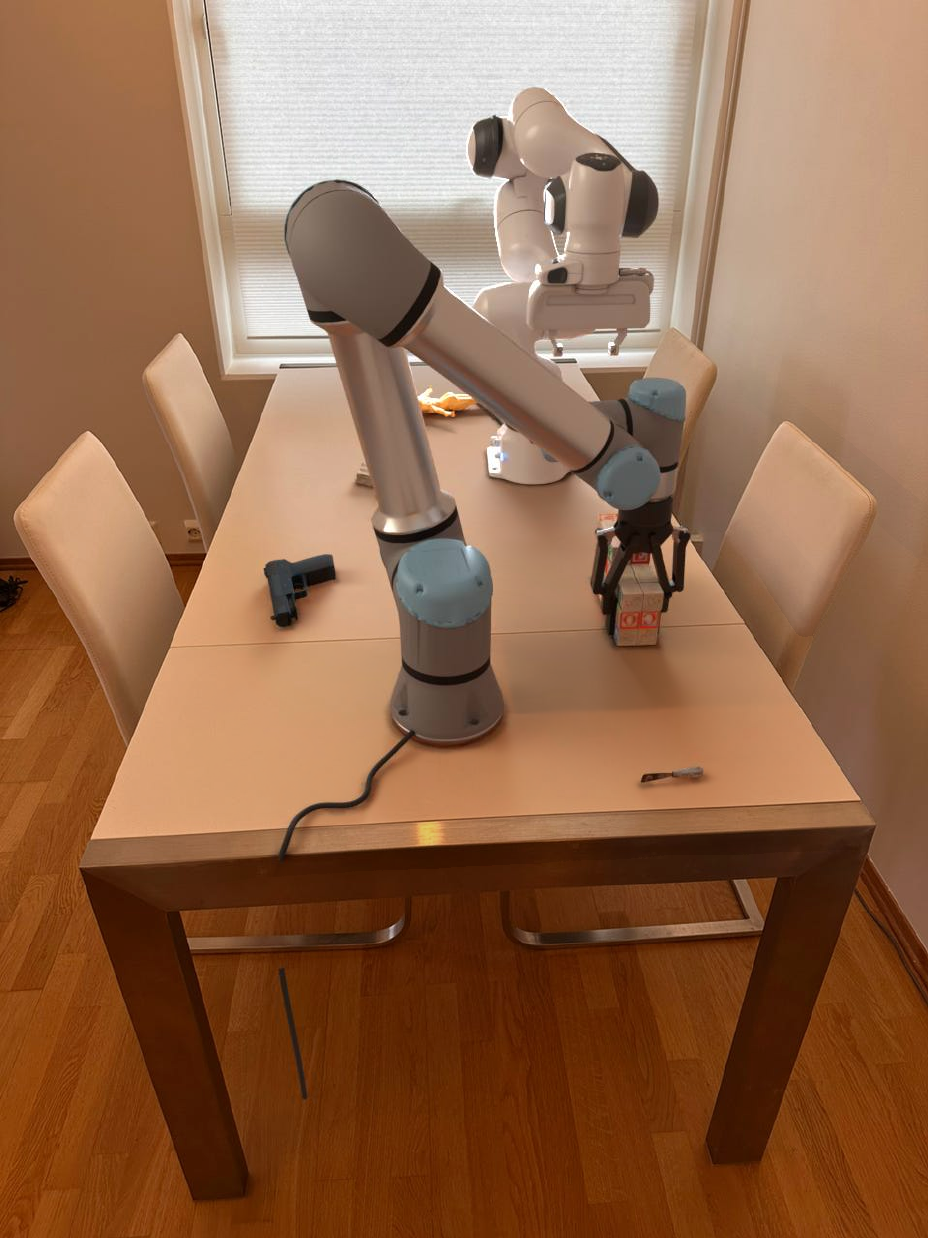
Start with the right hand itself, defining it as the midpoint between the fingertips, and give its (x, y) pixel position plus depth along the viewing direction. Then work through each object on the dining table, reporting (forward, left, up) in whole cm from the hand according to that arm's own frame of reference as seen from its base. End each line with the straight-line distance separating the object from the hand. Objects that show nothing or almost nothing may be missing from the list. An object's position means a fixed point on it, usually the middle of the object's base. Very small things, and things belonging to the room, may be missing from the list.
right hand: (585, 355), depth 150 cm
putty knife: (+68, -9, -33) cm, 76 cm away
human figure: (-72, -9, -33) cm, 80 cm away
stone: (-30, -31, -33) cm, 55 cm away
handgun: (+14, -51, -33) cm, 62 cm away
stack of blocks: (+29, -1, -33) cm, 44 cm away
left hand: (+36, -2, -32) cm, 48 cm away
